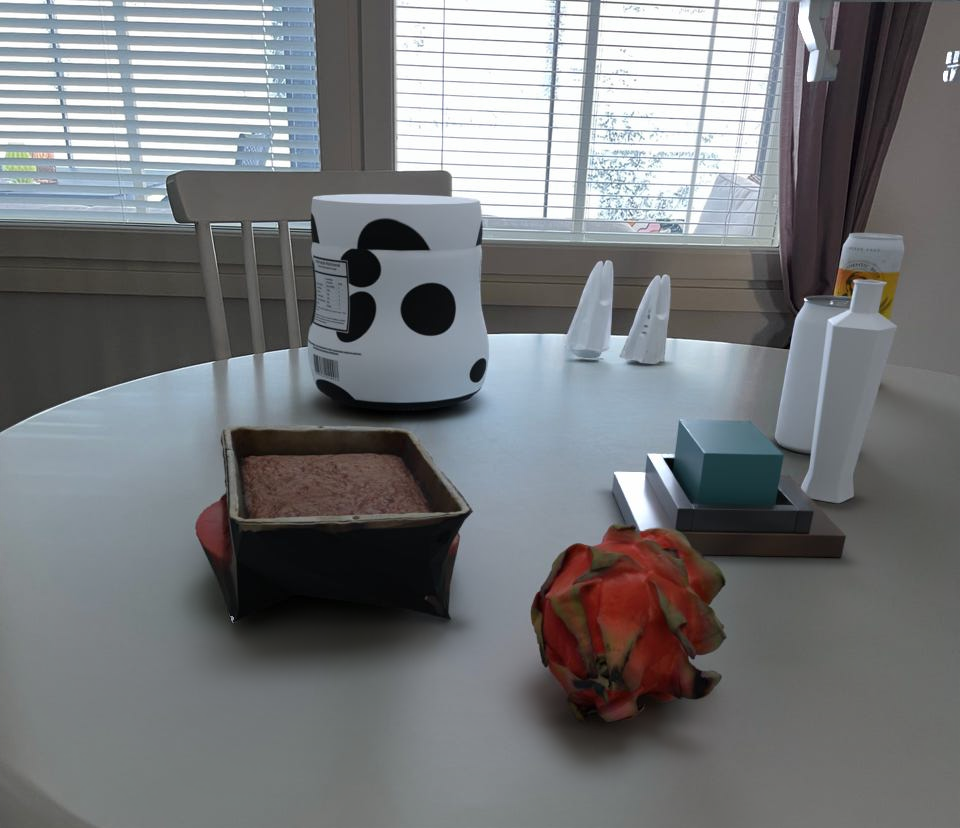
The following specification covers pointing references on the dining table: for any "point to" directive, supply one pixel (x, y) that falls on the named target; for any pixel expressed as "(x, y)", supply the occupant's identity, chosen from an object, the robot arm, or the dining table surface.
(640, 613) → the dragon fruit
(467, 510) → the baking dish
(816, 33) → the robot arm
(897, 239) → the beer can
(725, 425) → the teal rectangular block
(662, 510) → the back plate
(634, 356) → the shaker set
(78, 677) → the dining table surface
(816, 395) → the can
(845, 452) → the perfume bottle
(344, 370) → the milk container
